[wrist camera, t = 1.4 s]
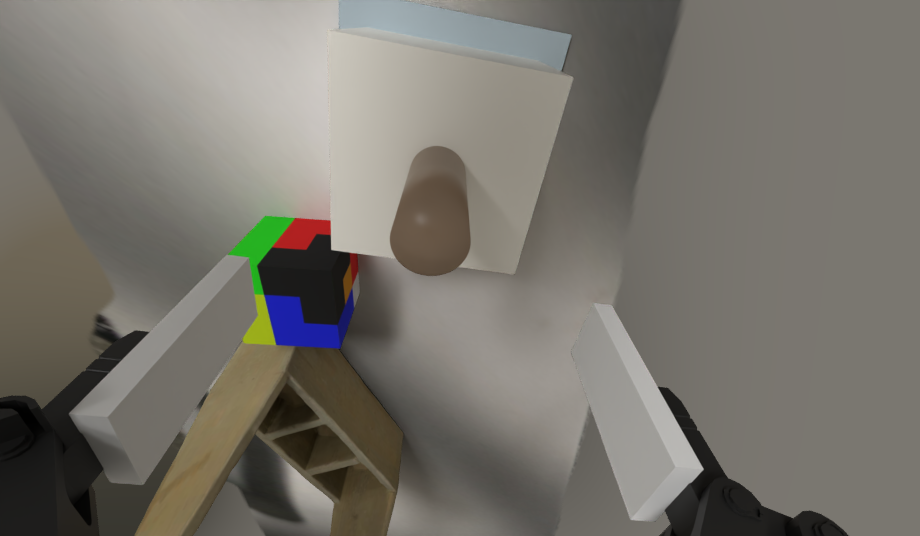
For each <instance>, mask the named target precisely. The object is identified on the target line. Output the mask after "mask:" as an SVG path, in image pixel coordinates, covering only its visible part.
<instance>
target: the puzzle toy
mask: <svg viewBox="0 0 920 536" xmlns="http://www.w3.org/2000/svg"><path fill="white" fill-rule="evenodd" d="M228 255H233V256H241V257H248V258H249V261H250V268H251V274H252V281H253V287H254V294H255V300H256V307H257V313H258V316H257V318H256V319H255V321H254V322H253V324H252V325H251V327H250V328H249V329H248V331H247V332H246V334H245V335H244V337H243V338H242V339H243V342H244V343H246V344H265V345H283V346H302V347H320V348H339V349H340V348H341V345H342V342H343V340H344V337H345V334H346V331H347V328H348V325H349V322H350V319H351V317H352V314H353V311H354V308H355V305H356V302H357V299H358V297H359V294H360V287H359V273H358V258H357V253H350V252H342V251H335V250H331V221H327V220H313V219H300V218H286V217H272V216H265V217H264V218H263V219H262V220H261V221H260V222H259V223H258V224H257V225H256V226H255V227H254V228H253V229H252V230H251V231H250V232H249V233H248V234H247V235H246V236H245V237H244V238H243V239H242V240H241V241H240V242H239V243H238V244H237V245H236V246H235V248H234V249H233V250H232V251H231V252H230V253H229V254H228Z"/></svg>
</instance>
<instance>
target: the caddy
mask: <svg viewBox="0 0 920 536" xmlns="http://www.w3.org/2000/svg"><path fill="white" fill-rule="evenodd" d="M255 434H256V435H257V436H258V437H259V438H260V439H261V440H263V441H264V442H265V443H266V444H267V445H268V446H269V447H271V448H272V449H273V450H274V451H275V452H276V453H278V454H279V455H280V456H281V457H282V458H283V459H284V460H285V461H287V462H288V463H289V464H290V465H291V466H292V467H293V468H295V469H296V470H297V471H298V472H299V473H300V474H301V475H302V476H303V477H304V478H305V479H307V480H308V481H309V482H310V483H311V484H312V485H314V486H315V487H316V488H317V489H319V490H320V491H321V492H323V493H324V494H325V495H326V496H328V497H329V498H330V499H331V500H332V501H333V502H334V508H333V515H332V524H331V533H330V536H386V535H387V531H388V527H389V523H390V519H391V515H392V512H393V508H394V503H395V499H396V495H397V490H398V483H399V471H400V462H401V450H402V442H403V432H402V431H401V429H400V428H399V427H398V426H397V424H396V423H395V422H394V421H393V419H392V418H391V417H390V416H389V414H388V413H387V412H386V411H385V409H384V408H383V407H382V405H381V404H380V403H379V401H378V400H377V399H376V398H375V396H374V395H373V394H372V393H371V392H370V390H369V389H368V388H367V387H366V385H365V384H364V383H363V382H362V380H361V378H360V377H359V376H358V374H357V373H356V372H355V371H354V369H353V368H352V367H351V365H350V364H349V363H348V362H347V360H346V359H345V358H344V356H343V355H342V354H341V352H340V351H339V349H338V348H320V347H302V346H283V345H265V344H246V343H244V342H243V341H242V343H241V345H240V346H239V348H238V349H237V351H236V352H235V354H234V355H233V357H232V359H231V360H230V362H229V363H228V365H227V366H226V368H225V370H224V371H223V373H222V374H221V376H220V377H219V378H218V380H217V381H216V383H215V384H214V386H213V387H212V389H211V390H210V393H209V395H208V396H207V398H206V400H205V402H204V404H203V406H202V408H201V410H200V411H199V413H198V415H197V417H196V419H195V421H194V423H193V425H192V426H191V428H190V430H189V432H188V434H187V436H186V438H185V441H184V443H183V445H182V447H181V448H180V450H179V452H178V454H177V456H176V458H175V460H174V461H173V463H172V465H171V467H170V468H169V470H168V472H167V474H166V476H165V477H164V479H163V481H162V483H161V485H160V487H159V489H158V491H157V493H156V494H155V496H154V498H153V500H152V502H151V504H150V505H149V507H148V510H147V512H146V514H145V516H144V518H143V520H142V522H141V524H140V526H139V527H138V529H137V532H136V534H135V536H193V535H194V533H195V532H196V531H197V529H198V528H199V526H200V524H201V523H202V521H203V519H204V517H205V516H206V514H207V513H208V511H209V509H210V507H211V506H212V504H213V502H214V500H215V498H216V497H217V495H218V494H219V492H220V491H221V489H222V487H223V485H224V484H225V482H226V480H227V478H228V476H229V474H230V472H231V470H232V469H233V468H234V467H235V465H236V464H237V462H238V461H239V459H240V458H241V456H242V454H243V453H244V451H245V449H246V448H247V446H248V445H249V443H250V441H251V440H252V438H253V437H254V435H255Z"/></svg>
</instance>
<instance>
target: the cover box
mask: <svg viewBox="0 0 920 536" xmlns="http://www.w3.org/2000/svg"><path fill="white" fill-rule="evenodd" d="M327 52H328V104H329V157H330V209H331V250H335V251H342V252H350V253H357V254H365V255H372V256H380V257H387V258H394V259H397V260H398V261H399V262H400V263H401V264H402V265H403V266H404V267H405V268H407V269H409V270H410V271H412V272H415V273H417V274H421V275H427V276H436V275H442V274H446V273H448V272H451V271H453V270H454V269H456V268H457V267H461V268H469V269H476V270H484V271H491V272H498V273H506V274H513V275H515V272H516V269H517V266H518V262H519V259H520V256H521V252H522V249H523V245H524V242H525V239H526V235H527V232H528V229H529V225H530V222H531V219H532V215H533V212H534V209H535V205H536V202H537V199H538V195H539V192H540V189H541V185H542V182H543V178H544V175H545V172H546V168H547V165H548V162H549V158H550V155H551V152H552V148H553V145H554V142H555V138H556V135H557V132H558V128H559V125H560V122H561V118H562V115H563V112H564V108H565V105H566V101H567V98H568V95H569V91H570V88H571V85H572V81H573V78H574V77H572V76H570V75H568V74H566V73H563V72H561V71H559V70H557V69H555V68H553V67H551V66H548V65H546V64H544V63H542V62H540V61H538V60H533V59H528V58H523V57H517V56H512V55H507V54H502V53H497V52H492V51H487V50H481V49H476V48H471V47H466V46H461V45H456V44H451V43H446V42H440V41H435V40H430V39H425V38H420V37H415V36H410V35H405V34H399V33H394V32H389V31H384V30H379V29H374V28H369V27H363V28H348V29H333V30H327Z"/></svg>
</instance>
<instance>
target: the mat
mask: <svg viewBox="0 0 920 536" xmlns="http://www.w3.org/2000/svg"><path fill="white" fill-rule="evenodd" d="M363 27H369V28H374V29H379V30H384V31H389V32H394V33H399V34H405V35H410V36H415V37H420V38H425V39H430V40H435V41H440V42H446V43H451V44H456V45H461V46H466V47H471V48H476V49H481V50H487V51H492V52H497V53H502V54H507V55H512V56H517V57H523V58H528V59H533V60H538V61H540V62H542V63H544V64H546V65H548V66H551V67H553V68H555V69H557V70H559V71H562V68H563V64H564V60H565V57H566V53H567V50H568V46H569V43H570V39H571V36H572V35H570V34H565V33H560V32H555V31H550V30H546V29H541V28H536V27H531V26H526V25H521V24H516V23H511V22H506V21H502V20H497V19H492V18H487V17H482V16H477V15H472V14H467V13H462V12H457V11H453V10H448V9H443V8H438V7H433V6H428V5H423V4H418V3H413V2H408V1H404V0H339V29H348V28H363Z"/></svg>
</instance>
